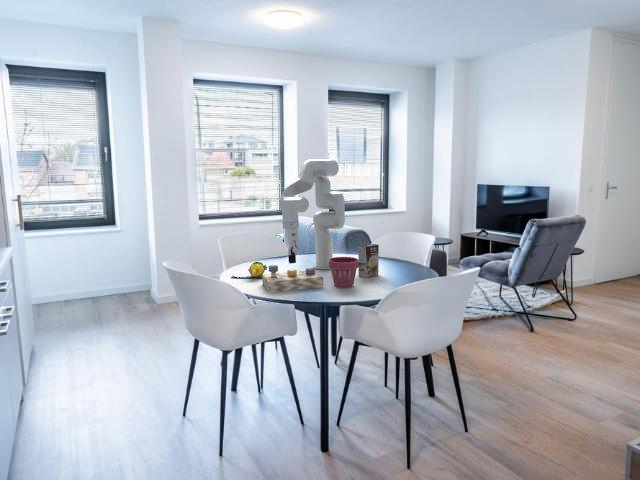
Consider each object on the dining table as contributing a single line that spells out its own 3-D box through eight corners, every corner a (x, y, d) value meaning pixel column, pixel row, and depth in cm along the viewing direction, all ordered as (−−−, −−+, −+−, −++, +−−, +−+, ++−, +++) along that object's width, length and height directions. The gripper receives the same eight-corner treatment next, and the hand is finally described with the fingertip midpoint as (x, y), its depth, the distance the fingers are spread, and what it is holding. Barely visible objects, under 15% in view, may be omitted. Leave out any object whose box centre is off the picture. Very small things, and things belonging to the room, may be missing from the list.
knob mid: (295, 280, 232) (295, 269, 231) (297, 282, 228) (297, 271, 227) (286, 281, 230) (286, 270, 230) (288, 283, 226) (288, 271, 225)
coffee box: (367, 278, 242) (367, 246, 239) (358, 276, 246) (357, 245, 244) (379, 275, 248) (378, 244, 246) (369, 273, 252) (369, 243, 250)
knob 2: (313, 279, 234) (313, 267, 233) (316, 281, 230) (315, 269, 229) (304, 280, 233) (304, 268, 232) (307, 282, 229) (306, 270, 228)
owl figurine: (226, 264, 243) (234, 259, 258) (227, 281, 244) (235, 275, 259) (280, 264, 240) (285, 259, 255) (280, 281, 241) (286, 275, 256)
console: (313, 279, 241) (313, 270, 240) (323, 287, 225) (323, 276, 225) (262, 284, 233) (262, 274, 232) (269, 292, 218) (268, 281, 217)
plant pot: (363, 287, 223) (363, 260, 221) (334, 290, 219) (334, 263, 217) (352, 281, 236) (352, 255, 234) (325, 283, 232) (324, 257, 230)
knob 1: (277, 276, 229) (276, 264, 228) (279, 278, 224) (278, 266, 224) (268, 277, 227) (267, 265, 226) (270, 279, 223) (269, 267, 222)
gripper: (302, 226, 219) (304, 265, 222) (294, 222, 233) (296, 259, 236) (286, 227, 217) (288, 267, 220) (279, 223, 231) (281, 260, 234)
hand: (292, 262), depth 228 cm, fingers closed
